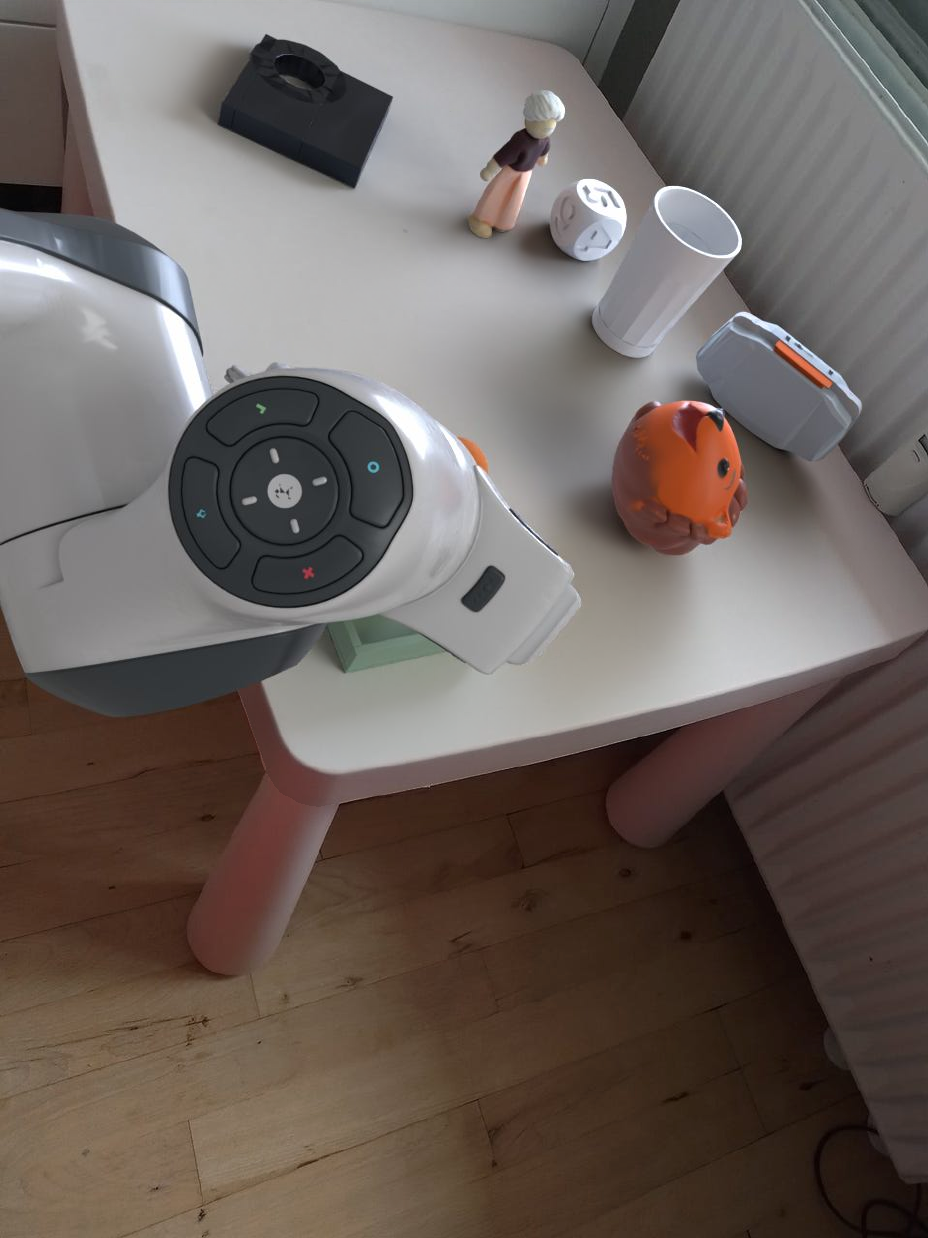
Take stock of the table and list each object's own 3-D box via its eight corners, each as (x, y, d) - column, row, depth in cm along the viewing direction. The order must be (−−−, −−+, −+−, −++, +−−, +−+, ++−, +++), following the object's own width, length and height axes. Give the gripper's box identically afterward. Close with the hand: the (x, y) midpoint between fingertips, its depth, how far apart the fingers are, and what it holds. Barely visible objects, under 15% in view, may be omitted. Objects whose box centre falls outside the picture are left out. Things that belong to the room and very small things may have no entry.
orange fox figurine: (582, 438, 78) (657, 336, 68) (696, 472, 81) (782, 379, 72) (588, 562, 71) (671, 468, 62) (711, 594, 74) (807, 508, 65)
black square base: (215, 123, 80) (219, 101, 78) (263, 47, 87) (267, 25, 86) (354, 188, 82) (361, 168, 81) (389, 109, 90) (396, 89, 88)
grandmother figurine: (483, 251, 85) (546, 122, 74) (451, 223, 85) (508, 90, 75) (530, 222, 89) (594, 96, 79) (498, 196, 89) (559, 67, 79)
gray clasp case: (816, 461, 88) (879, 403, 81) (806, 478, 86) (869, 420, 79) (691, 360, 88) (743, 294, 82) (678, 375, 86) (730, 309, 80)
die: (607, 262, 91) (634, 219, 87) (563, 260, 88) (589, 216, 84) (586, 223, 92) (611, 179, 88) (542, 221, 90) (567, 175, 86)
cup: (569, 297, 86) (637, 183, 76) (638, 296, 90) (712, 187, 80) (607, 366, 83) (683, 257, 74) (677, 363, 87) (758, 258, 77)
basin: (287, 522, 63) (296, 499, 61) (424, 503, 68) (436, 482, 66) (345, 673, 59) (356, 655, 57) (485, 642, 64) (500, 624, 62)
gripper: (173, 417, 45) (267, 444, 59) (513, 700, 44) (528, 661, 58) (254, 306, 44) (331, 360, 58) (603, 594, 44) (597, 579, 57)
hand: (432, 513), depth 58 cm, fingers closed on plug, 3 cm apart
